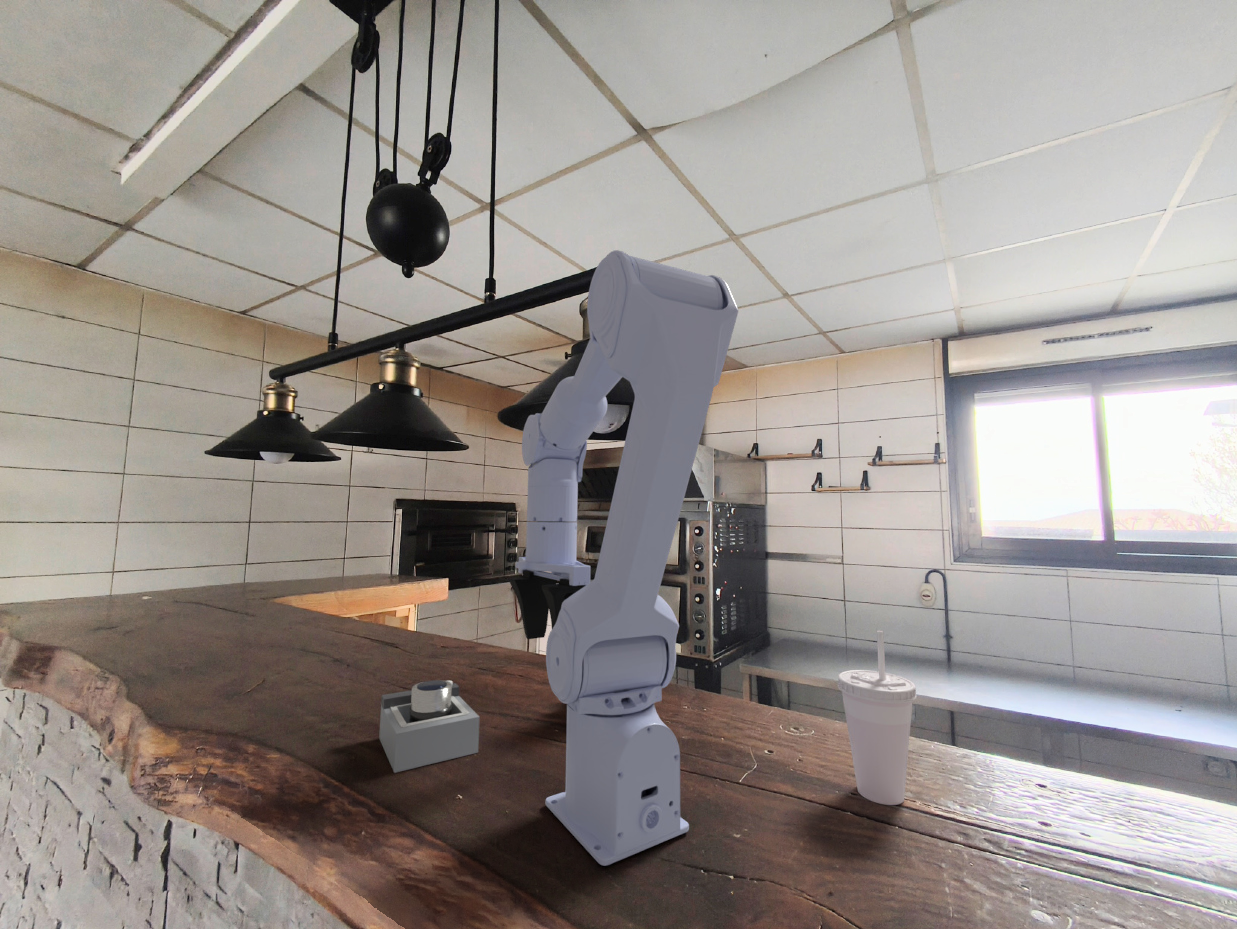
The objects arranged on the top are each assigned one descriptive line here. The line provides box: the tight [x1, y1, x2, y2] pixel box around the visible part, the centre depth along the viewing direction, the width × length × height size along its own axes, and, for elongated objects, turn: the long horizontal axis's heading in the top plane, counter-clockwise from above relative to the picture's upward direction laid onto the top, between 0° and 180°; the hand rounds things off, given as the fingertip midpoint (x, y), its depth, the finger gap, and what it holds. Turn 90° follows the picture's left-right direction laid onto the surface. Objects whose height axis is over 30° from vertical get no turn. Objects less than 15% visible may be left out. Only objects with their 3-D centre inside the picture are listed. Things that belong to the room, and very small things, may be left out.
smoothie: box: [837, 630, 918, 806], centre depth 46 cm, size 6×6×14 cm
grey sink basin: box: [378, 680, 480, 774], centre depth 54 cm, size 9×8×5 cm
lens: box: [409, 679, 452, 723], centre depth 54 cm, size 4×4×6 cm
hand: (549, 644), depth 57 cm, fingers open, 7 cm apart
